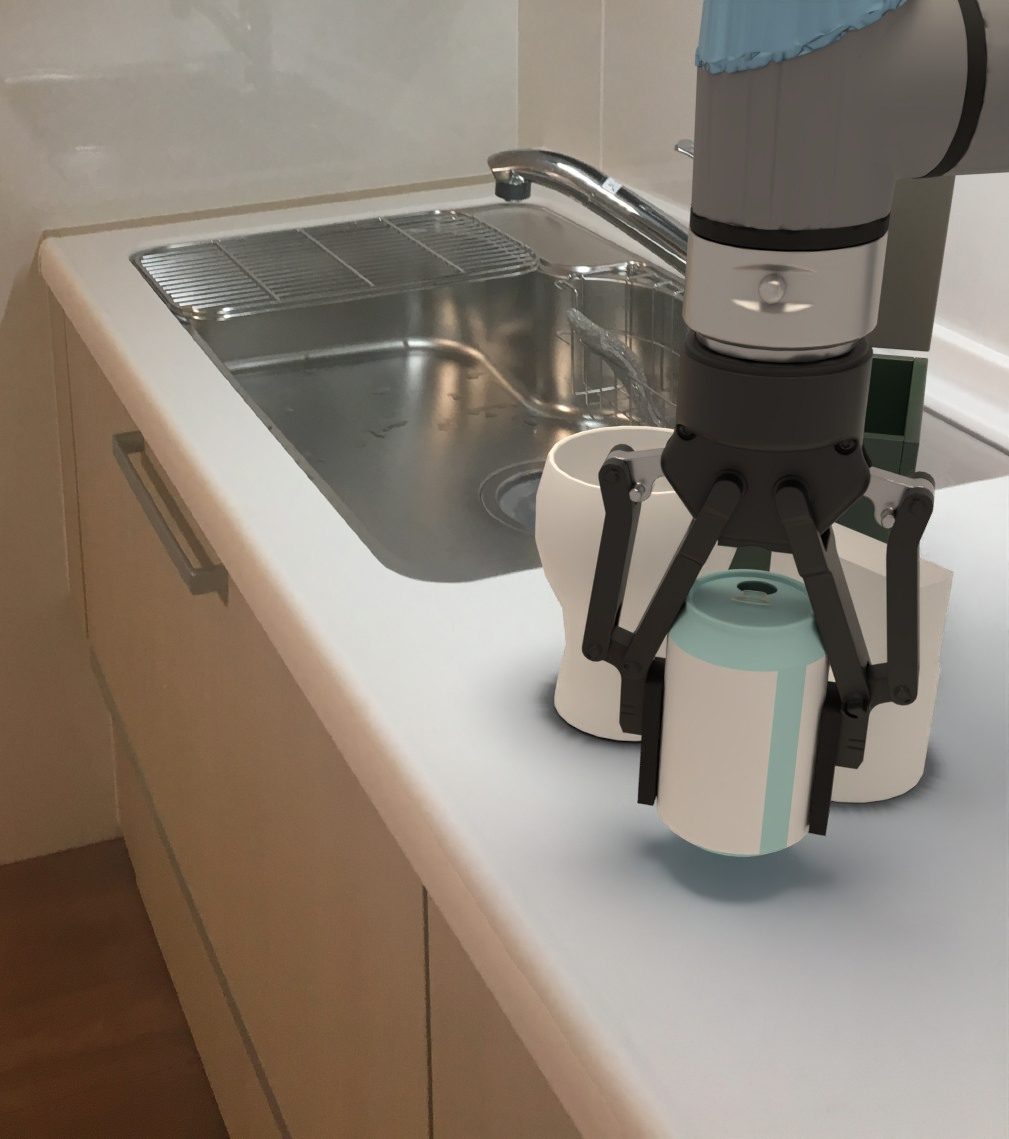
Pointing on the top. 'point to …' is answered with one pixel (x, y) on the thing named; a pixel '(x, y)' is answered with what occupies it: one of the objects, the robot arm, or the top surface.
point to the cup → (571, 557)
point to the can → (741, 714)
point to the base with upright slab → (891, 727)
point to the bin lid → (913, 263)
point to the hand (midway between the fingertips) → (733, 802)
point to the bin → (876, 442)
